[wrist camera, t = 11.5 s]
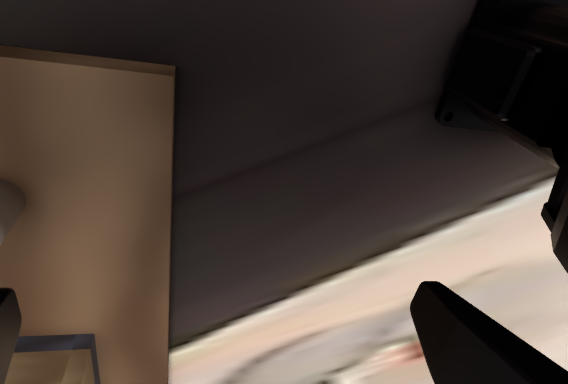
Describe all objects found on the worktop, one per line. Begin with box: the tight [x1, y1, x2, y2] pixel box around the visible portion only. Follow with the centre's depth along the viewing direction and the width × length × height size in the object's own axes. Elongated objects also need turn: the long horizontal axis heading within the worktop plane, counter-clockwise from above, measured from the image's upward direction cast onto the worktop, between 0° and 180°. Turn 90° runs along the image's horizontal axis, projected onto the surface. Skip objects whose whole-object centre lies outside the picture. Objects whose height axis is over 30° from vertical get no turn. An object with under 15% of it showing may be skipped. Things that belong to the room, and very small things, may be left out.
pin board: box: [0, 45, 175, 384], centre depth 18 cm, size 14×24×6 cm, turn 170°
